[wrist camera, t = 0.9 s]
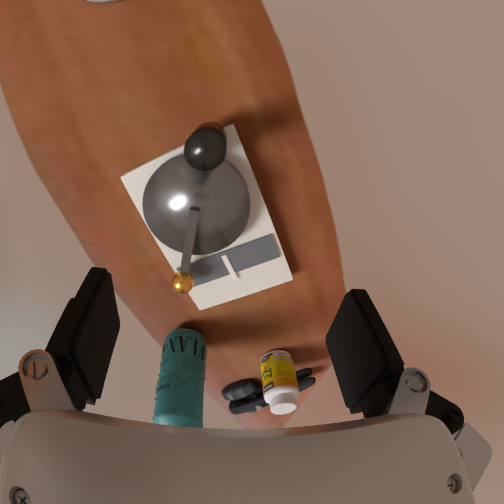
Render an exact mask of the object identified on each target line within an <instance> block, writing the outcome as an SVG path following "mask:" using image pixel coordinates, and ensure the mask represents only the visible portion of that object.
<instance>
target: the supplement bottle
mask: <svg viewBox="0 0 504 504" xmlns="http://www.w3.org/2000/svg"><path fill="white" fill-rule="evenodd" d="M260 367H261V376H262V385H263V394H264V400H265V401H266V402H267V403H268V404H270V409H271V412H272V413H274V414H287V413H290V412H292V411H294V410H295V409H296V407H297V405H296V399H297V398H298V397H299V388H298V383H297V379H296V374H295V369H294V364H293V359H292V356H291V354H290V353H289V352H287V351H284V350H273V351H270V352H267V353H266V354H264V355H263V356H262V358H261V360H260Z"/></svg>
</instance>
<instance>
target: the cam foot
mask: <svg viewBox="0 0 504 504" xmlns="http://www.w3.org/2000/svg"><path fill="white" fill-rule="evenodd" d="M226 147H227V134H226V131H225V130H224V128H223V127H222V126H221V125H219V124H217V123H213V122H208V123H204V124H202V125H200V126H199V127H198V128H197V129H196V130H195V131H194V132H193V133H192V135H191V136H190V137H189V138H188V139H187V141H186V143H185V145H184V153H180V154H178V155H175V156H173V157H171V158H169V159H168V160H166V161H165V162H164V163H163V164H161V165H160V166H159V167H158V169H157V170H156V171H155V172H154V173H153V174H152V176H151V177H150V179H149V180H148V182H147V184H146V187H145V190H144V194H143V202H142V206H143V213H144V218H145V220H146V223H147V225H148V227H149V229H150V230H151V232H152V233H153V234H154V236H155V237H156V238H157V239H158V240H159V241H161V242H162V243H163V244H164V245H166V246H167V247H169V248H171V249H173V250H175V251H178V252H181V253H182V260H181V267H180V271H178V272H177V273H175V274H174V276H173V278H172V286H173V288H174V289H175V290H176V291H177V292H179V293H187V292H189V291H191V290H192V288H193V286H194V278H193V276H192V275H191V274H190V273H189V269H190V263H191V257H192V255H206V254H211V253H215V252H218V251H220V250H222V249H224V248H226V247H228V246H229V245H231V244H232V243H233V242H234V241H236V239H237V238H238V237H239V236H240V235H241V234H242V232H243V231H244V229H245V227H246V225H247V222H248V220H249V215H250V207H251V205H250V196H249V191H248V187H247V184H246V182H245V180H244V178H243V176H242V174H241V173H240V172H239V170H238V169H237V168H236V167H235V166H234V165H233V164H232V163H230V162H229V161H228V160H226V159H225V156H226Z"/></svg>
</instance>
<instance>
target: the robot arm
mask: <svg viewBox="0 0 504 504" xmlns="http://www.w3.org/2000/svg"><path fill="white" fill-rule="evenodd" d="M86 1H89V2H93V3H111V2H117V1H120V0H86ZM119 329H120V320H119V315H118V310H117V305H116V299H115V294H114V288H113V282H112V276H111V273H108V272H107V270H106V269H105V268H98V267H92V268H91V269H90V271H89V272H88V274H87V276H86V278H85V279H84V281H83V283H82V285H81V287H80V289H79V290H78V292H77V294H76V296H75V298H71V299H70V300H69V302H68V304H67V306H66V308H65V310H64V311H63V313H62V315H61V317H60V320H59V321H58V323H57V325H56V328H55V330H54V332H53V334H52V336H51V338H50V340H49V342H48V345H47V347H46V349H45V351H44V350H41V349H36V350H31V351H29V352H27V353H26V354H25V355H24V356H23V357H22V358H21V360H20V363H19V367H18V368H19V371H18V372H16V373H15V374H12V375H10V376H8V377H6V378H4V379H2V380H0V504H475V500H474V496H473V493H472V492H473V491H474V489H475V487H476V485H477V484H478V482H479V480H480V478H481V476H482V475H483V473H484V471H485V469H486V467H487V465H488V463H489V461H490V458H491V455H492V451H491V447H490V445H489V444H488V443H487V441H486V440H485V439H484V438H483V437H482V436H481V435H480V434H479V433H478V432H477V431H476V430H475V429H474V428H473V427H472V426H471V425H470V424H469V423H468V422H466V423H465V424H464V416H463V413H462V411H461V409H460V408H459V407H458V406H457V405H455V404H454V403H452V402H450V401H448V400H447V399H445V398H443V397H441V396H440V395H438V394H436V393H434V392H433V391H431V390H430V386H431V384H430V380H429V378H428V377H427V375H426V374H425V373H424V372H423V371H421V370H420V369H417V368H412V367H410V368H407V369H404V367H403V366H404V362H403V360H402V358H401V356H400V354H399V352H398V350H397V348H396V346H395V344H394V342H393V340H392V338H391V336H390V334H389V332H388V330H387V328H386V326H385V325H384V323H383V321H382V319H381V317H380V315H379V313H378V312H377V310H376V308H375V306H374V304H373V302H372V301H371V299H370V297H369V295H368V293H367V292H366V290H364V289H352V290H350V292H347V293H346V295H345V297H344V299H343V301H342V303H341V306H340V308H339V310H338V312H337V314H336V316H335V318H334V321H333V323H332V325H331V327H330V329H329V331H328V333H327V335H326V345H327V348H328V351H329V354H330V357H331V360H332V364H333V367H334V370H335V373H336V376H337V379H338V383H339V385H340V389H341V392H342V396H343V399H344V402H345V405H346V407H348V408H349V409H350V412H351V414H354V413H360V412H363V415H364V417H363V419H359V420H353V421H346V422H339V423H332V424H324V425H314V426H304V427H291V428H274V429H211V428H194V427H181V426H171V425H162V424H154V423H147V422H139V421H133V420H127V419H121V418H115V417H109V416H104V415H99V414H94V413H88V412H84V411H83V409H84V408H85V406H86V403H87V404H91V405H95V402H96V398H97V399H100V397H101V394H102V390H103V386H104V382H105V378H106V374H107V371H108V367H109V363H110V360H111V356H112V353H113V349H114V346H115V343H116V339H117V336H118V333H119Z"/></svg>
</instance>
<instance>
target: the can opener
mask: <svg viewBox="0 0 504 504" xmlns="http://www.w3.org/2000/svg"><path fill="white" fill-rule="evenodd" d="M295 374H296V379H297V383H298V388H299V392H301V391H303V390H305V389H306V388H308V387H310V386H312V385H313V384H314V383H315V381H316V379H315V378H314V377H309V376H310V375H311V374H312V370H311V369H310V368H306V369H302V370H299V371H296V372H295ZM307 377H308V378H307ZM305 378H306V379H305ZM303 379H304V380H303ZM222 395H223V396H224V398H225V399H226V400H229V401H230V404H229V410H230V412H231V413H233V414H241V413H245V412H249V413H255V412H256V409H262V408H263V407H265V406H268V405H270V404H268V403H267V402H266V401H265V400H264V394H263V386H262V387H258V385H257V384H256V383H255V382H254V381H252V380H250V379H245V380H241V381H237V382H234V383H232V384H230V385H228V386H227V387H225V388H224V389H223V390H222Z"/></svg>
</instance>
